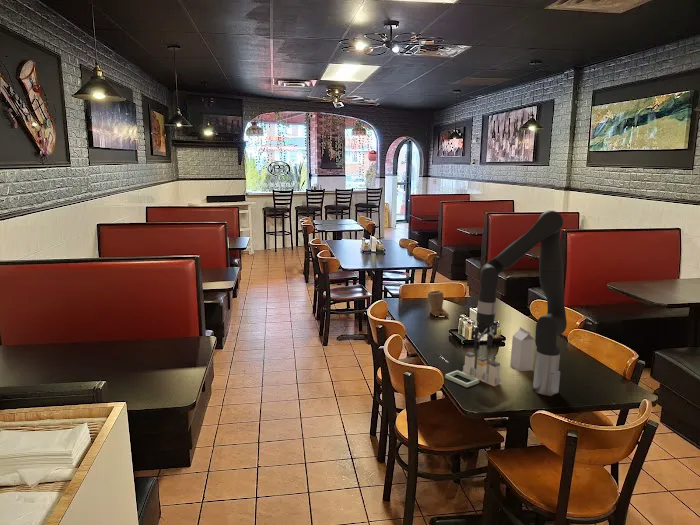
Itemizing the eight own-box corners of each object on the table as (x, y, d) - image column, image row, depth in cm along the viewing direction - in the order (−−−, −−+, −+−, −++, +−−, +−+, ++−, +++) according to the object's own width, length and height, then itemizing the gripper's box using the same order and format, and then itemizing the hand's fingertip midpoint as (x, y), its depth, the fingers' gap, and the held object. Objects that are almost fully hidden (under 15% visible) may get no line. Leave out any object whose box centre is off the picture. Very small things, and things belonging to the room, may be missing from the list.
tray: (478, 386, 218) (479, 379, 217) (466, 390, 213) (467, 384, 212) (457, 376, 227) (457, 370, 226) (444, 380, 222) (445, 374, 221)
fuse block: (501, 386, 217) (503, 363, 215) (494, 389, 214) (496, 366, 212) (467, 372, 232) (469, 350, 230) (460, 375, 229) (461, 352, 226)
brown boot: (425, 311, 326) (426, 288, 323) (443, 311, 327) (445, 288, 324) (429, 318, 311) (431, 294, 309) (449, 318, 312) (450, 294, 309)
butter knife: (439, 352, 255) (433, 352, 255) (466, 374, 230) (460, 374, 229) (439, 353, 256) (433, 353, 255) (466, 375, 230) (460, 375, 229)
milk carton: (518, 372, 233) (522, 332, 230) (509, 366, 240) (513, 327, 237) (532, 370, 235) (535, 331, 232) (523, 364, 242) (526, 326, 238)
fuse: (485, 377, 222) (487, 358, 221) (481, 379, 221) (482, 359, 219) (480, 375, 225) (481, 356, 223) (475, 377, 223) (477, 357, 221)
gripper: (482, 316, 210) (479, 353, 213) (503, 310, 218) (500, 346, 222) (468, 311, 216) (465, 347, 219) (489, 306, 224) (486, 341, 228)
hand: (482, 347), depth 220 cm, fingers open, 8 cm apart
